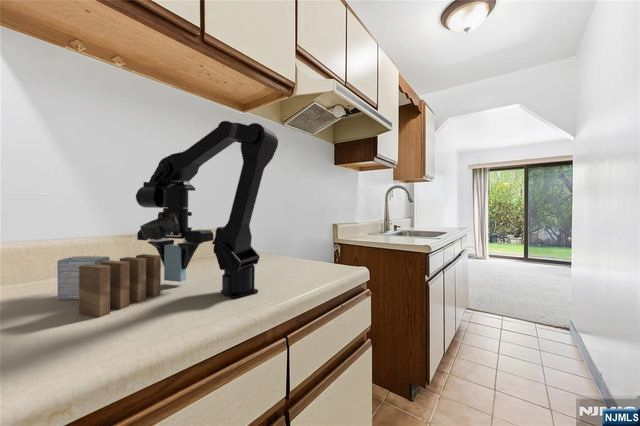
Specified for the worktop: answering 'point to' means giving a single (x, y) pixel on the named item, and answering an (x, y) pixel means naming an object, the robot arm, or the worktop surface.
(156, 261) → the tile
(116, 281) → the tile
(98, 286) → the tile
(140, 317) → the worktop surface
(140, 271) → the tile
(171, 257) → the tile
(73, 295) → the medicine box
